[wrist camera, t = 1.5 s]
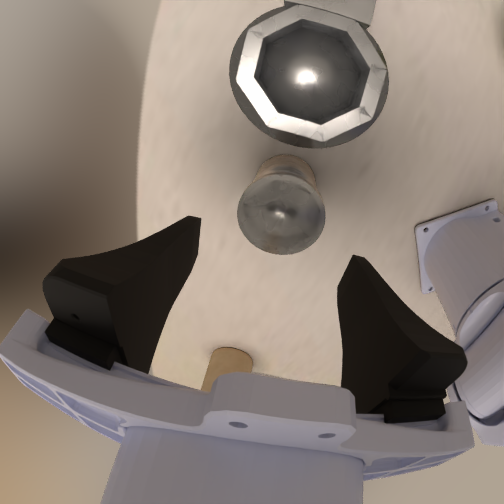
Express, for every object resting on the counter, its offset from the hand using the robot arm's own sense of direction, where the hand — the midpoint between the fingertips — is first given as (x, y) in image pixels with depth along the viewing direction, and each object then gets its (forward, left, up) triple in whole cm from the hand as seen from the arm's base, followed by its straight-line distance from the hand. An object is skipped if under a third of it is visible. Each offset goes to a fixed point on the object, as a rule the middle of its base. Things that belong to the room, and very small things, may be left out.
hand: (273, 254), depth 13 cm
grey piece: (-10, -13, -10) cm, 19 cm away
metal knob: (0, 0, -10) cm, 10 cm away
